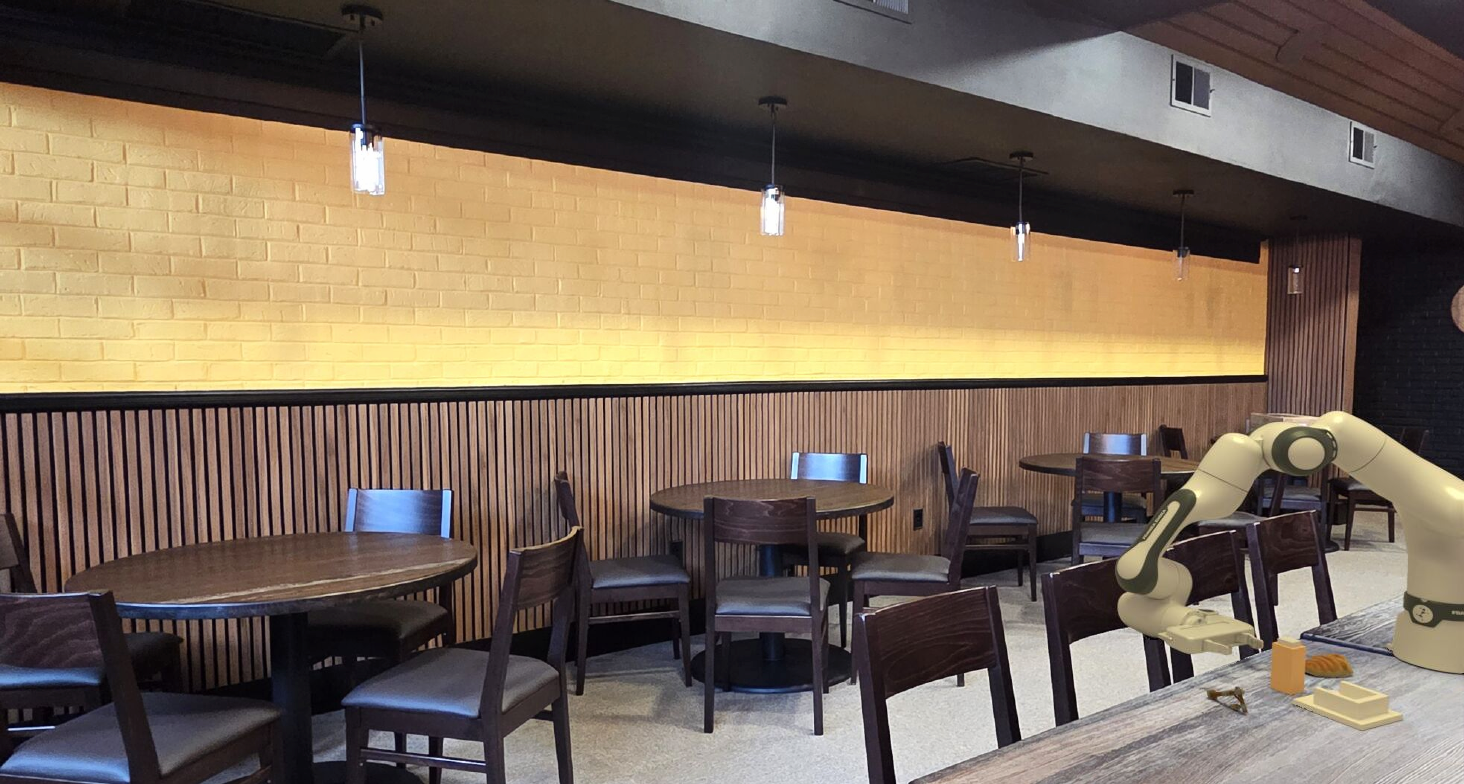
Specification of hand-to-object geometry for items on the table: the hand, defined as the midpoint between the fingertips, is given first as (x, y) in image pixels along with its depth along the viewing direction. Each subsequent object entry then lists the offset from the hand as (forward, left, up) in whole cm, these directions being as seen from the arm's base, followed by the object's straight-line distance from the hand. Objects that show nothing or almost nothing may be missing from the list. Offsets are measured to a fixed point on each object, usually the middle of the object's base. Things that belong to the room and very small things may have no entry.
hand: (1245, 648), depth 176 cm
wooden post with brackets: (+18, +10, -6) cm, 21 cm away
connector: (0, +9, -5) cm, 10 cm away
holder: (0, +20, -5) cm, 21 cm away
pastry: (-17, +6, -6) cm, 19 cm away
